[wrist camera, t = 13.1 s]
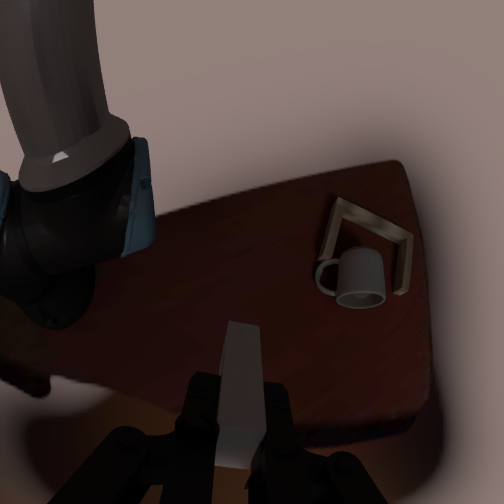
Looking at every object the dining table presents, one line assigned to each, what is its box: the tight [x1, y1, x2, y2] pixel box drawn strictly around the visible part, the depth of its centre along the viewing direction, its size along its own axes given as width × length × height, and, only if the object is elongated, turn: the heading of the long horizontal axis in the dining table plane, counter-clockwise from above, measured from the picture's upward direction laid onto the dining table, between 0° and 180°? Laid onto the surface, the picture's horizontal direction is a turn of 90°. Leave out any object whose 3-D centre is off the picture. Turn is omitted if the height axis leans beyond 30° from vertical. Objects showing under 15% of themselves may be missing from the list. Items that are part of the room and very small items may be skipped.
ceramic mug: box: [315, 246, 386, 309], centre depth 41 cm, size 11×8×8 cm
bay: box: [317, 197, 413, 296], centre depth 46 cm, size 17×12×3 cm
